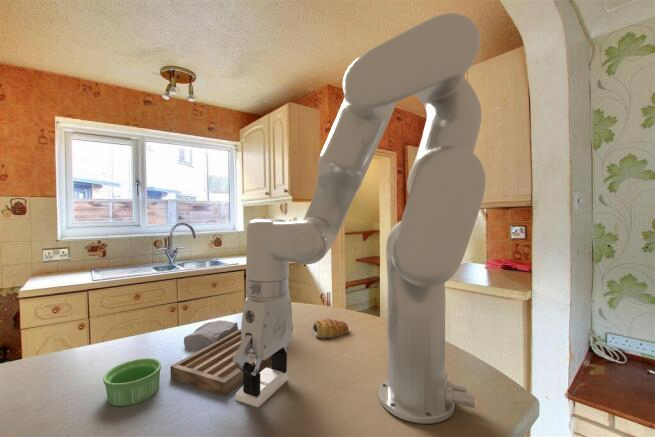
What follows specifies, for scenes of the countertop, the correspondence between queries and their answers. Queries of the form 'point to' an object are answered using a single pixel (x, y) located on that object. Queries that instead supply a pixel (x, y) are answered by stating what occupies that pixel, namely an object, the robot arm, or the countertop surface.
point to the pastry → (329, 328)
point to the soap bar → (263, 387)
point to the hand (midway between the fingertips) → (266, 381)
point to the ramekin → (132, 381)
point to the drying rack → (214, 366)
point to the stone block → (209, 334)
